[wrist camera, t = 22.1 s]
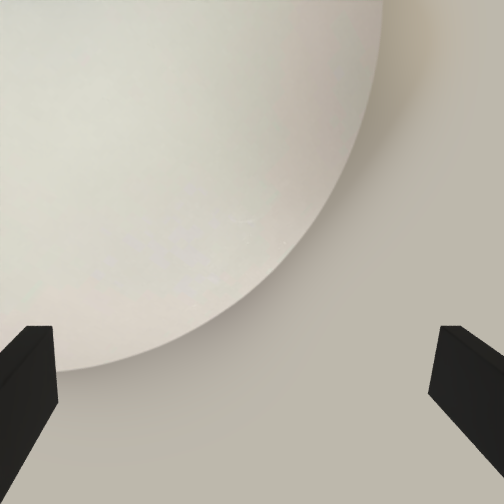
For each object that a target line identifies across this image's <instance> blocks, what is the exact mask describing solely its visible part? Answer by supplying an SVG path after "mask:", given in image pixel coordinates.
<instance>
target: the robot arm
mask: <svg viewBox="0 0 504 504" xmlns="http://www.w3.org/2000/svg"><path fill="white" fill-rule="evenodd" d="M428 394H429V395H430V396H431V397H432V399H433V400H434V401H435V402H436V403H437V404H438V405H439V406H440V407H441V409H442V410H443V411H444V412H445V413H446V414H447V415H448V416H449V417H450V419H451V420H452V421H453V422H454V423H455V424H456V425H457V426H458V427H459V429H460V430H461V431H462V432H463V433H464V434H465V435H466V436H467V437H468V439H469V440H470V441H471V442H472V443H473V444H474V445H475V446H476V448H477V449H478V450H479V451H480V452H481V453H482V454H483V455H484V456H485V458H486V459H487V460H488V461H489V462H490V463H491V464H492V465H493V466H494V468H495V469H496V470H497V471H498V472H499V473H500V474H501V475H502V476H503V477H504V356H503V355H501V354H500V353H499V352H497V351H496V350H494V349H493V348H491V347H490V346H489V345H487V344H486V343H484V342H483V341H482V340H480V339H479V338H477V337H476V336H474V335H473V334H471V333H470V332H469V331H467V330H466V329H464V328H463V327H462V326H441V327H440V332H439V338H438V343H437V348H436V354H435V359H434V364H433V370H432V375H431V381H430V385H429V391H428ZM57 404H58V393H57V380H56V367H55V354H54V341H53V328H52V326H26V327H25V328H24V329H23V330H22V331H21V332H20V333H19V334H18V335H17V336H16V337H15V338H14V339H13V340H12V341H11V342H10V343H9V344H8V345H7V346H6V347H5V348H4V349H3V350H2V351H1V352H0V503H1V502H2V500H3V498H4V497H5V495H6V493H7V492H8V490H9V488H10V486H11V484H12V483H13V481H14V479H15V477H16V476H17V474H18V472H19V470H20V469H21V467H22V465H23V463H24V462H25V460H26V458H27V456H28V455H29V453H30V451H31V449H32V447H33V446H34V444H35V442H36V440H37V439H38V437H39V435H40V433H41V432H42V430H43V428H44V426H45V425H46V423H47V421H48V419H49V418H50V416H51V414H52V412H53V410H54V409H55V407H56V405H57Z"/></svg>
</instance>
